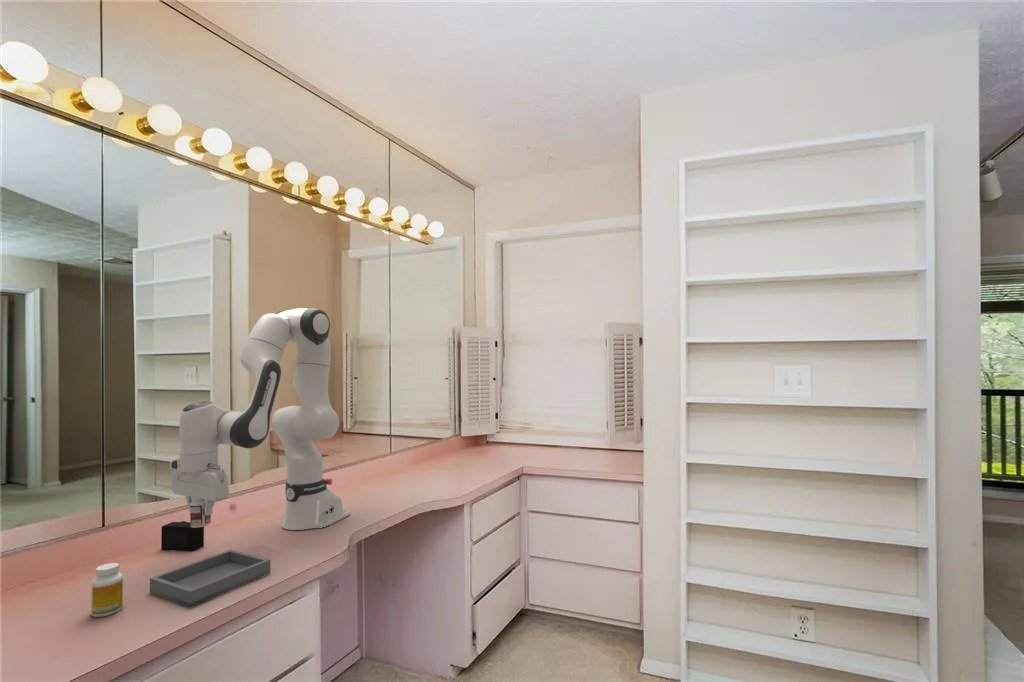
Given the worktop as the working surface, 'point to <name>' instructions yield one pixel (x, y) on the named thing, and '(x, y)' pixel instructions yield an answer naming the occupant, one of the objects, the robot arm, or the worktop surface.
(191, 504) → the pill bottle
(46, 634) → the worktop surface
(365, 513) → the worktop surface
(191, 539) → the digital camera
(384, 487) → the worktop surface
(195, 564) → the tray
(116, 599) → the supplement bottle
